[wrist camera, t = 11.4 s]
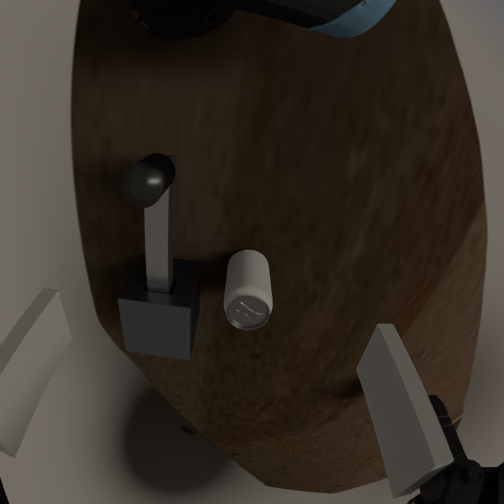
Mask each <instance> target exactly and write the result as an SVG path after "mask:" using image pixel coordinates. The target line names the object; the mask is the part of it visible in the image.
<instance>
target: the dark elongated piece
mask: <svg viewBox="0 0 504 504" xmlns="http://www.w3.org/2000/svg"><path fill="white" fill-rule="evenodd" d="M175 161H176V155H165V154H158V153H155V154H151V155H149V156H147V157H145V158H144V159H142V160H141V161H139V162H138V163H137V164H135V165H134V166H132V167H131V168H129V169H128V170H127V171H126V172H125V173H124V175H123V177H122V179H121V192H122V194H123V197H124V198H125V199H126V201H127V202H128V203H130V204H131V205H133V206H135V207H138V208H145V249H146V271H147V287H148V292H154V293H162V294H170V295H173V206H174V180H175Z"/></svg>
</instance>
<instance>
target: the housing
mask: <svg viewBox="0 0 504 504" xmlns="http://www.w3.org/2000/svg"><path fill="white" fill-rule="evenodd" d="M201 266H202V262H201V261H192V260H183V259H173V295H170V294H162V293H154V292H148V287H147V271H146V255H142V256H141V257H140V259H139V261H138V262H137V264H136V266H135V268H134V269H133V271H132V273H131V275H130V277H129V278H128V280H127V282H126V284H125V286H124V287H123V289H122V291H121V293H120V295H119V297H118V298H117V299H118V305H119V312H120V318H121V324H122V330H123V335H124V341H125V346H126V350H127V351H132V352H138V353H144V354H150V355H157V356H164V357H171V358H178V359H186V360H190V359H191V354H192V348H193V343H194V337H195V332H196V327H197V321H198V316H199V311H200V287H201Z"/></svg>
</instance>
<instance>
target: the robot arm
mask: <svg viewBox="0 0 504 504" xmlns="http://www.w3.org/2000/svg"><path fill="white" fill-rule="evenodd" d="M127 1H128V2H129V7H130V10H131V13H132V15H133V17H134V18H135V20H136V21H137V22H138V23H139V24H140V25H141V26H142V27H144V28H145V29H147V30H148V31H150V32H152V33H153V34H155V35H158V36H161V37H164V38H170V39H187V38H193V37H197V36H200V35H203V34H206V33H208V32H210V31H212V30H214V29H216V28H217V27H219V26H220V25H221V24H223V23H224V22H225V21H226V20H227V19H228V18H229V17H230V16H231V15H232V14H233V12H234V11H235V9H236V10H241V11H245V12H250V13H254V14H258V15H262V16H266V17H270V18H274V19H277V20H281V21H284V22H288V23H291V24H295V25H298V26H299V27H301V28H303V29H305V30H310V31H319V32H322V33H325V34H328V35H332V36H335V37H340V38H351V37H355V36H357V35H360V34H362V33H364V32H366V31H367V30H369V29H370V28H371V27H373V26H374V25H375V24H376V23H377V22H378V21H379V20H380V19H381V18H382V17H383V16H384V15H385V14H386V13H387V12H388V10H389V9H390V8H391V7H392V5H393V4H394V2H395V1H396V0H127ZM70 341H71V335H70V332H69V328H68V325H67V321H66V318H65V314H64V311H63V307H62V303H61V299H60V296H59V292H58V290H53V289H48V288H44V289H43V290H42V291H41V292H40V294H39V295H38V296H37V297H36V299H35V300H34V301H33V302H32V304H31V305H30V306H29V307H28V309H27V310H26V311H25V313H24V314H23V315H22V317H21V318H20V319H19V321H18V322H17V323H16V325H15V326H14V327H13V329H12V330H11V331H10V333H9V334H8V336H7V337H6V339H5V340H4V341H3V343H2V344H1V346H0V451H2V452H4V453H6V454H7V455H9V456H11V457H14V458H15V456H16V454H17V451H18V449H19V447H20V444H21V442H22V439H23V437H24V434H25V432H26V430H27V428H28V425H29V423H30V420H31V418H32V416H33V414H34V412H35V410H36V408H37V406H38V403H39V401H40V399H41V397H42V395H43V393H44V391H45V389H46V387H47V385H48V383H49V381H50V379H51V377H52V375H53V373H54V371H55V369H56V367H57V365H58V363H59V362H60V360H61V358H62V356H63V354H64V352H65V350H66V349H67V347H68V345H69V343H70ZM356 370H357V373H358V376H359V379H360V382H361V385H362V389H363V392H364V395H365V398H366V402H367V405H368V408H369V412H370V415H371V418H372V422H373V425H374V429H375V432H376V436H377V439H378V443H379V446H380V450H381V454H382V457H383V461H384V465H385V469H386V472H387V476H388V480H389V484H390V488H391V492H392V496H393V498H396V497H400V496H404V495H408V494H411V493H412V492H414V491H415V490H417V489H418V488H420V492H421V493H420V494H419V495H417V496H416V497H414V498H413V499H411V500H410V501H409V502H408V503H407V504H412V503H414V502H415V503H414V504H504V462H503V463H502V464H501V465H499V466H498V467H481V466H480V465H479V463H477V462H476V461H474V460H468V458H467V456H466V455H465V453H464V450H463V447H462V445H461V443H460V440H459V438H458V435H457V433H456V430H455V428H454V426H452V421H451V419H450V417H448V415H449V414H448V412H447V410H446V408H445V406H444V404H443V403H442V401H441V400H440V399H439V398H438V397H437V396H436V395H428V396H427V393H426V391H425V389H424V387H423V384H422V382H421V380H420V378H419V376H418V374H417V372H416V369H415V367H414V365H413V363H412V361H411V359H410V357H409V355H408V353H407V351H406V349H405V347H404V345H403V343H402V341H401V339H400V337H399V335H398V333H397V331H396V329H395V327H394V325H393V324H377V326H376V328H375V330H374V332H373V335H372V337H371V339H370V341H369V343H368V345H367V348H366V350H365V352H364V354H363V356H362V358H361V360H360V362H359V364H358V366H357V368H356ZM0 504H9V502H8V499H7V496H6V494H5V491H4V488H3V485H2V482H1V479H0Z"/></svg>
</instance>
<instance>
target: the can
mask: <svg viewBox="0 0 504 504" xmlns="http://www.w3.org/2000/svg"><path fill="white" fill-rule="evenodd" d="M224 309H225V312H226V315H227V318H228V320H229V322H230V323H231V324H232V325H234V326H235V327H237V328H240V329H244V330H253V329H257V328H259V327H261V326H263V325H264V324H265V323H266V322H267V321H268V319H269V317H270V313H271V311H272V293H271V284H270V275H269V267H268V262H267V260H266V258H265V257H264V256H263V255H262V254H261V253H259V252H257V251H254V250H242V251H239V252H237V253H235V254H234V255H233V256H232V257H231V259H230V260H229V263H228V269H227V277H226V287H225V297H224Z"/></svg>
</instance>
